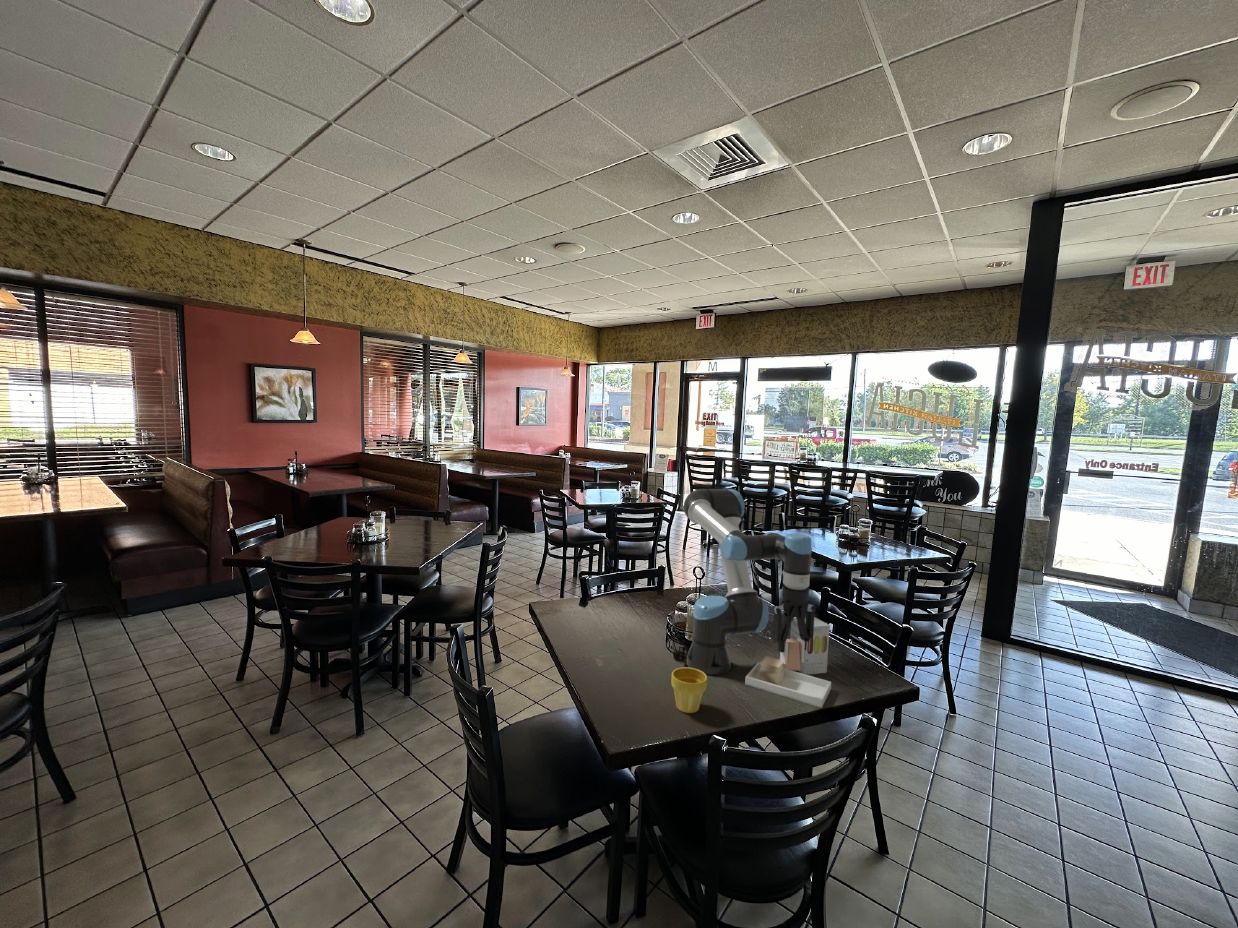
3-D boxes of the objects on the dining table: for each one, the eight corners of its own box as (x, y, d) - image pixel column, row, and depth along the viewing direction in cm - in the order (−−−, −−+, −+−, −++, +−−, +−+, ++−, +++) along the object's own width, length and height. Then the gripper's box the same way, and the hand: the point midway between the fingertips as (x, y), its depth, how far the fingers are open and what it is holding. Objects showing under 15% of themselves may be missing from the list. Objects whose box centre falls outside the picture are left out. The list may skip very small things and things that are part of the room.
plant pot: (701, 697, 155) (703, 666, 154) (709, 716, 144) (710, 683, 144) (668, 697, 154) (669, 666, 154) (673, 716, 144) (674, 683, 143)
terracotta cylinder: (796, 665, 156) (795, 638, 156) (803, 670, 151) (802, 642, 152) (780, 665, 155) (779, 639, 156) (787, 670, 150) (786, 643, 151)
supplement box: (803, 675, 171) (806, 627, 170) (787, 663, 180) (790, 617, 179) (827, 672, 174) (830, 624, 172) (810, 660, 182) (813, 615, 181)
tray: (744, 684, 164) (745, 676, 163) (758, 668, 175) (758, 661, 175) (821, 708, 151) (822, 699, 150) (830, 689, 162) (831, 681, 162)
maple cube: (759, 679, 166) (760, 662, 165) (765, 672, 171) (766, 655, 170) (778, 685, 162) (778, 667, 162) (783, 678, 167) (784, 660, 167)
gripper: (776, 591, 146) (771, 669, 147) (829, 588, 150) (825, 664, 152) (762, 583, 153) (758, 658, 155) (814, 580, 157) (810, 653, 159)
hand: (791, 660), depth 153 cm, fingers closed on terracotta cylinder, 5 cm apart
